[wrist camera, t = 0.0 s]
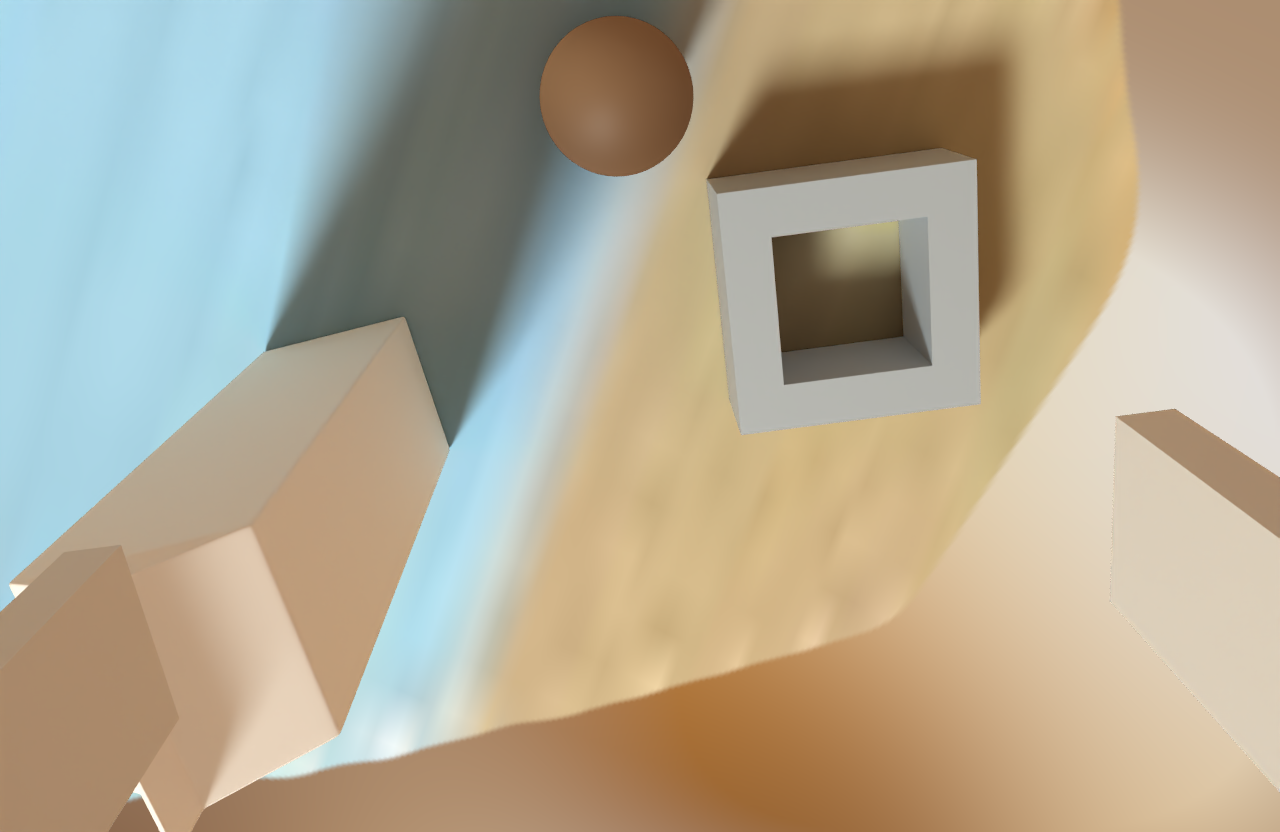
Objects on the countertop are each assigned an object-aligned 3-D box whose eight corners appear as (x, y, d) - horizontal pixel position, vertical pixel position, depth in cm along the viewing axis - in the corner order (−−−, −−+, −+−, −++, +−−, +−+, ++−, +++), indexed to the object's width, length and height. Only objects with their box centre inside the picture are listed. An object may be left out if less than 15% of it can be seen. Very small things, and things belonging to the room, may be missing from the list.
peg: (552, 30, 38) (528, 27, 26) (661, 15, 38) (683, 5, 26) (568, 143, 39) (552, 185, 28) (674, 128, 39) (700, 165, 28)
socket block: (706, 179, 40) (716, 194, 36) (941, 147, 39) (976, 159, 36) (729, 400, 43) (741, 434, 39) (947, 371, 43) (980, 403, 39)
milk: (405, 314, 41) (206, 587, 20) (452, 452, 43) (313, 827, 22) (259, 351, 41) (-84, 658, 21) (312, 486, 44) (47, 888, 23)
